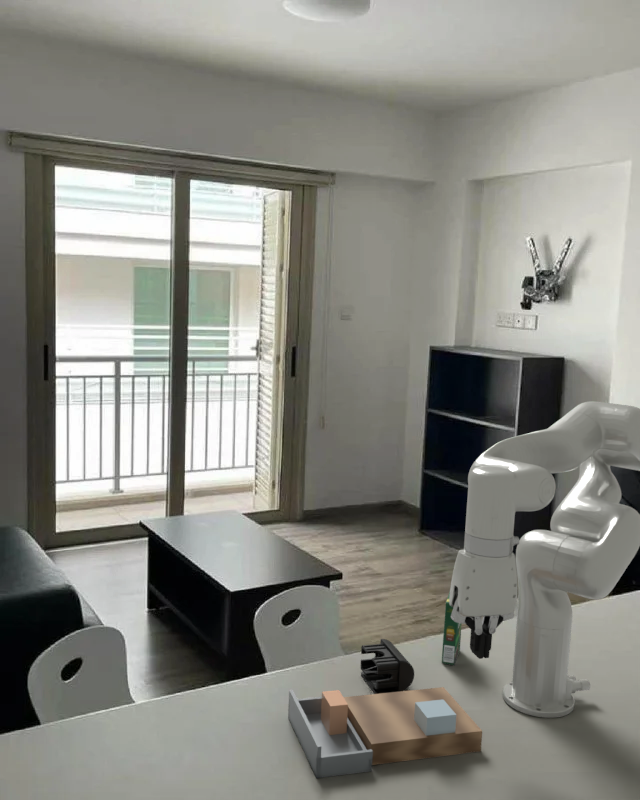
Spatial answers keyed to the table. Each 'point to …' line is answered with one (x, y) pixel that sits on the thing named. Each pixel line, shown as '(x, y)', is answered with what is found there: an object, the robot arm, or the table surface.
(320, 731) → the box
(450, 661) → the coffee box
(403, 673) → the end cap
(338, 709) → the block terracotta
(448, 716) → the pale blue block
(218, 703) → the table surface
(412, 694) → the board
